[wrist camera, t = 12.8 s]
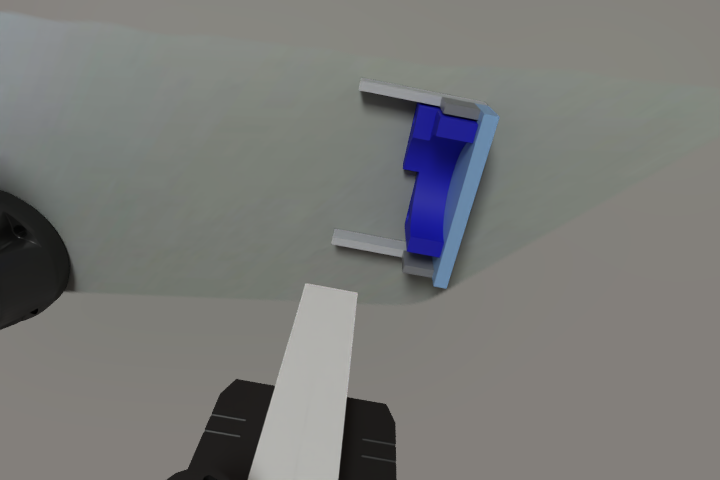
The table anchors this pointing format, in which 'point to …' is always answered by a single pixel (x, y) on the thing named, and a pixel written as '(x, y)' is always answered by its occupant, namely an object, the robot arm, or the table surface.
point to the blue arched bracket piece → (432, 173)
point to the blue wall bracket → (458, 192)
